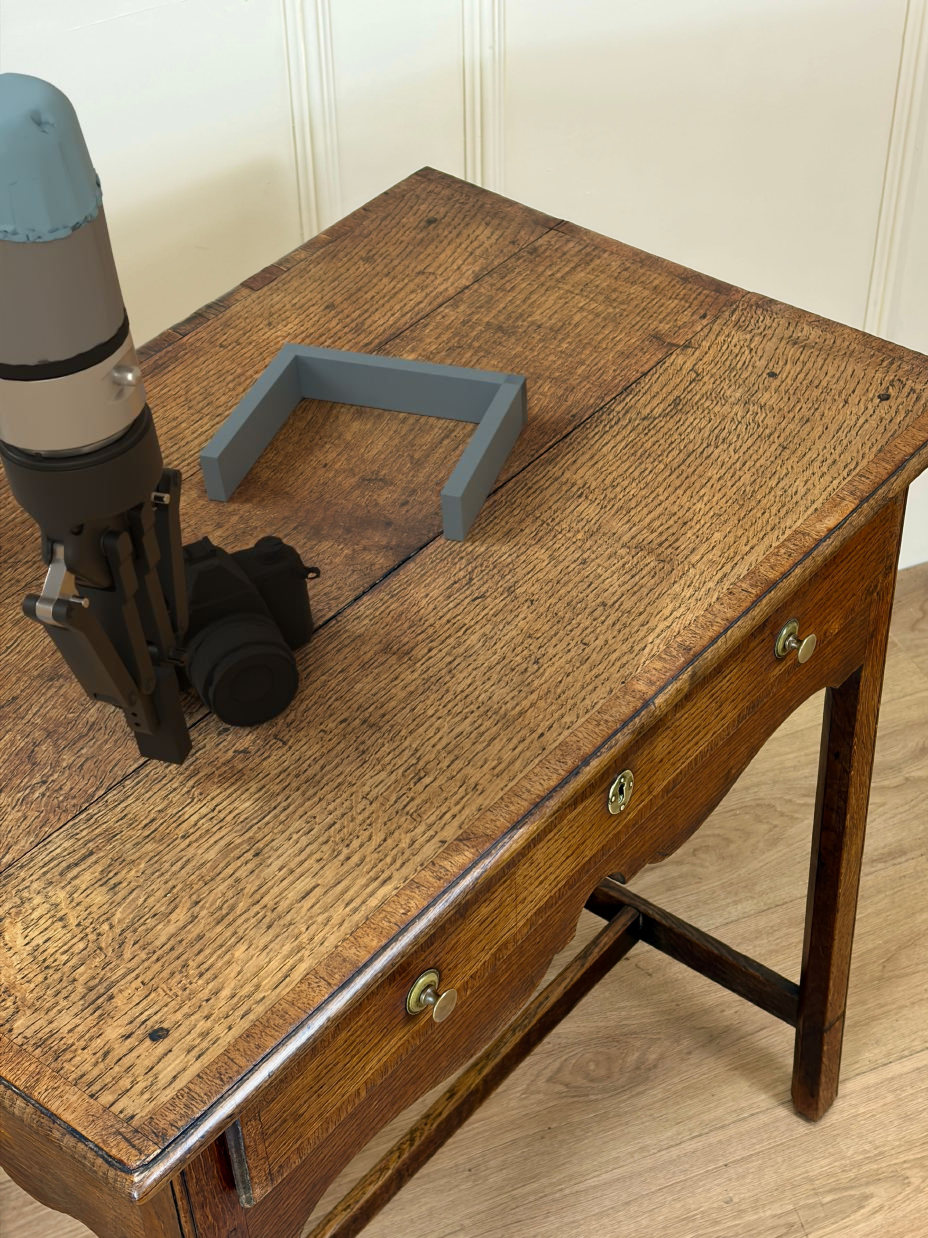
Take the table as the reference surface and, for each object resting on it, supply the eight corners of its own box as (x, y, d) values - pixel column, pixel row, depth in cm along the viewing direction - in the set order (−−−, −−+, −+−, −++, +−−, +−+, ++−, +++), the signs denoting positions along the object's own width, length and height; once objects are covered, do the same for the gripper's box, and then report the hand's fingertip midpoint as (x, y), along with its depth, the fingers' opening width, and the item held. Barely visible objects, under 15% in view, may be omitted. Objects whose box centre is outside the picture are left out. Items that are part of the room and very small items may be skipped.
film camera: (137, 776, 89) (104, 668, 82) (92, 681, 95) (57, 573, 89) (366, 690, 94) (351, 581, 87) (309, 604, 100) (290, 497, 93)
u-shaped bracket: (208, 499, 109) (198, 454, 106) (293, 385, 120) (286, 342, 117) (463, 542, 104) (460, 496, 101) (527, 419, 115) (526, 375, 112)
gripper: (72, 507, 66) (174, 846, 82) (201, 357, 75) (269, 690, 91) (-72, 481, 67) (55, 818, 84) (70, 338, 76) (160, 668, 93)
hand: (166, 752), depth 87 cm, fingers closed
